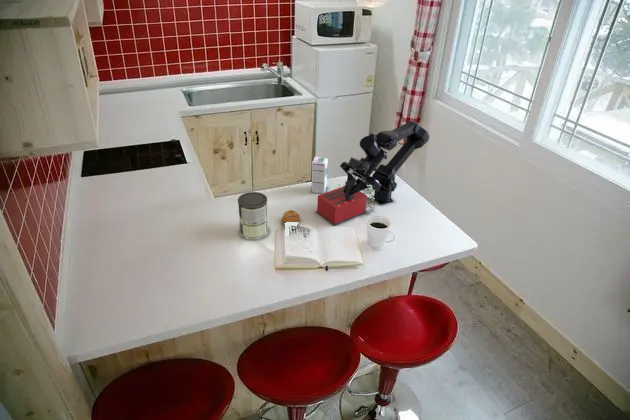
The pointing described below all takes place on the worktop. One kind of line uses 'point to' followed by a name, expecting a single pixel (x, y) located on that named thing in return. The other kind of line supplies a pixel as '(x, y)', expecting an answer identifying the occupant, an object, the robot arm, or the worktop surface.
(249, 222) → the coffee can
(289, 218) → the pastry
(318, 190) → the syrup box
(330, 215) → the toaster
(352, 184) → the slider
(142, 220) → the worktop surface
